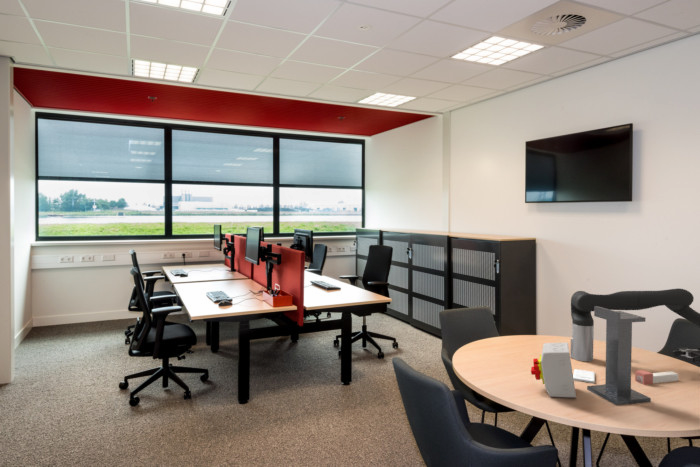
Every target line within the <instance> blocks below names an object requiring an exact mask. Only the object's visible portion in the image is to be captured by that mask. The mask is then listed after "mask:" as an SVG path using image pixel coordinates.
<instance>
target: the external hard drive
mask: <svg viewBox="0 0 700 467" xmlns="http://www.w3.org/2000/svg"><path fill="white" fill-rule="evenodd" d="M573 379H574V382H575V381H576V382H580V383H581V382H583V383H589V384H593V385H594V384H595V379H596V373H595V371H592V370H591V371H590V370H584V369H579V368H578V369H577V368H575V369H574V370H573ZM595 385H596V384H595Z"/></svg>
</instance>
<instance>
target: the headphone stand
mask: <svg viewBox="0 0 700 467" xmlns="http://www.w3.org/2000/svg"><path fill="white" fill-rule="evenodd" d="M593 313H594V314H593V315H594V316H593V317H596V318H600V319H602V320H606V322H605V324H606V325H605V326H606V328H605V333H606V335H605V340H606V341H605V384H595V385H594V384H593V385H587V386H586V389H587V391H589V392H591V393H593V394H594V395H597V396H598V397H600V398H601V399H603V400H606V401H607V402H609V403H611V404H613V405H614V406H623V405H624V406H625V405H634V404H644V403H651V402H652V401H651V400H652V399H651V397H650V396H648V395H645V394H643V393H641V392H638V391H637V390H634V389H633V388H632V352H633V351H632V347H633V346H632V344H633V343H632V341H633V337H632V336H633V323H642V322H643V323H644V322H646V316H645V317H644V316H641V315H637V314H633V313H630V312H629V313H628V312H625V311H623V310H609V309H605V308H602V307H598V306H594V311H593Z"/></svg>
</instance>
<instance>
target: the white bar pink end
mask: <svg viewBox="0 0 700 467" xmlns="http://www.w3.org/2000/svg"><path fill="white" fill-rule="evenodd" d="M634 372H635V373H634V375H635V377H634V381H635V382H637V383H639V384H641V385H644V386H645V385H653V384H658V383H659V382H660V383H667V382H678V381H679V373H678V372H675V371H671V370H670V371H662V372H653V373H652V372H650V371H647V370H644V369H643V370H641V369H640V370H635V371H634ZM660 383H659V384H660Z"/></svg>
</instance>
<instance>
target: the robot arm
mask: <svg viewBox="0 0 700 467" xmlns="http://www.w3.org/2000/svg"><path fill="white" fill-rule="evenodd" d="M693 303H694V295H693V294H692V293H691V292H690V291H689V290H688V289H684V288H671V289H662V290H661V289H660V290H621V291H616V292H613V293H609V294H593V293H589V292H586V291H584V290H577V291H575V292H574V293H573V294H572V296H571V299H570V316H571V320H572V324H571V326H572V329H571V330H572V337H571V338H570V348H569V353H570V359H571V358H572V359H573V360H576V361H580V362H581V361H582V362H592V361H593V362H594V333H595V332H594V330H595V329H594V324H595V323H594V322H595V321H594V320H595V319H594V318H593V316H592V312H594V306H598V307H602V308H605V309H609V310H613V311H642V310H647V309H652V308H656V307H660V306H661V307H663V306H664V307H666V308H667V309H668V310H669V311H672V313H675V314H676V315H679V316H680V317H681V318H683V319H685V320H686V321H688V322H690V323H692V325H695V326H696V327H698V328H700V312H698V311H696V310H695V309H693V308H692V307H691V305H692V304H693ZM672 356H673V357H680V356H681V357H686V358H689V359H690V362H691V363H700V346H699V347H698V348H697V349H692V348H690V347H677V348H676V350H673V351H672Z"/></svg>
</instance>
